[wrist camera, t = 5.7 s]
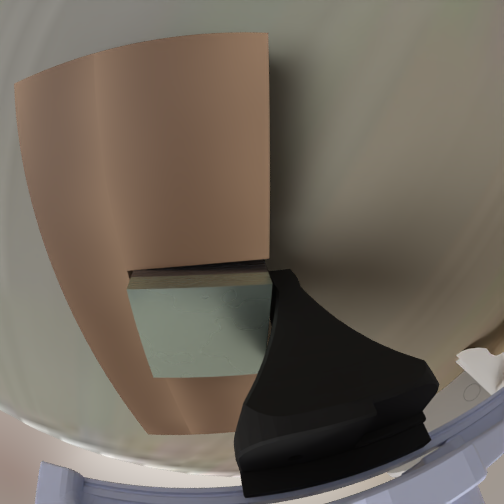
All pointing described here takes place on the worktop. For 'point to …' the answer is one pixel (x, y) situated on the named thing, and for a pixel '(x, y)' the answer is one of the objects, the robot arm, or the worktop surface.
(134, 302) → the sage green cube
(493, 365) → the shelf bracket
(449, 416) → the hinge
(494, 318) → the worktop surface
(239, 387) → the brown u-shaped block
